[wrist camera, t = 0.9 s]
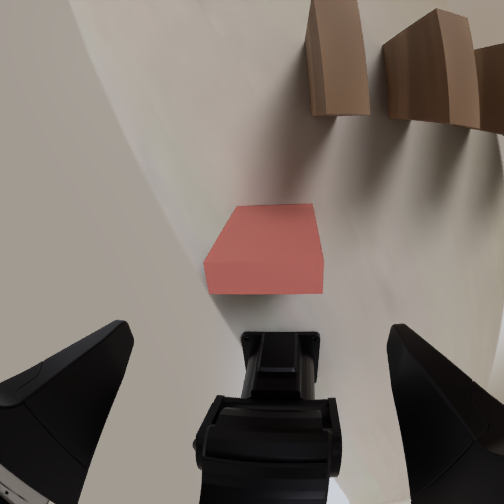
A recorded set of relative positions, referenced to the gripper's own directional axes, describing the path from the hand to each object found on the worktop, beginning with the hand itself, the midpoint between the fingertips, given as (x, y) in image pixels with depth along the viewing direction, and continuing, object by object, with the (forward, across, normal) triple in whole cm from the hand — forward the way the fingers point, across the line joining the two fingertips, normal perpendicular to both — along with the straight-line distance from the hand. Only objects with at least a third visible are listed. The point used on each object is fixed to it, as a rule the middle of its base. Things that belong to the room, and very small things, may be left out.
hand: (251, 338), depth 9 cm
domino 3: (+12, -8, -9) cm, 17 cm away
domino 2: (+12, -4, -9) cm, 15 cm away
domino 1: (+12, 0, 0) cm, 12 cm away
